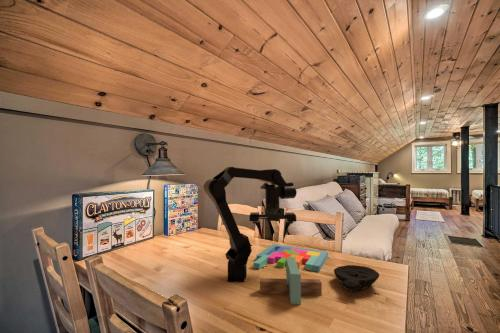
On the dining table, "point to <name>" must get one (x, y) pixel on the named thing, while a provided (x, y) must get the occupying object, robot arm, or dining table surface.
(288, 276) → the teal plate
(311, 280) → the walnut rail
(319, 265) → the tetris game
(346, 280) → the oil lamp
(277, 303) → the dining table surface
